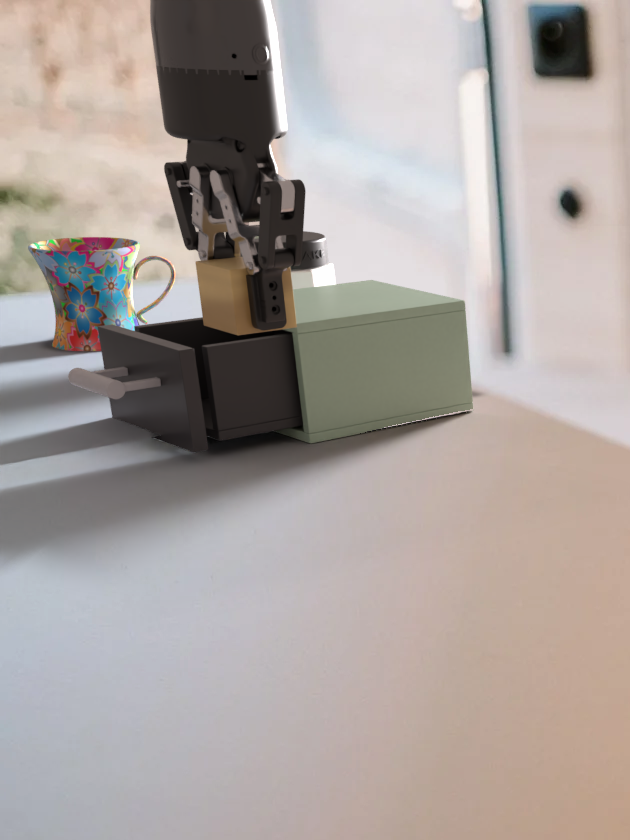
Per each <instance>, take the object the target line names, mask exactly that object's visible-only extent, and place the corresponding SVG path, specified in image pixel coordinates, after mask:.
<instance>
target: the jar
mask: <svg viewBox="0 0 630 840" xmlns="http://www.w3.org/2000/svg"><path fill="white" fill-rule="evenodd" d="M281 240H282V244H283V247H284V248H286V235H283V236H281ZM254 243H255V246H256V250H257V254H258V244H259V238H258V239H254ZM240 257H242V254H241V255H240ZM334 265H335V264H334V263H333V262H329V253H328V245H327V238H326V236H325V235H324V234H322V233H320V232H315V231H305V230H303V243H302V260H301V264H300V265H299V266H291V267H290V268H291V278H292V287H293V289H301V288H309V287H317V286H326V285H334V284H337V282H336V275H335V274H336V273H335V266H334Z"/></svg>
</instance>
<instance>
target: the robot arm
mask: <svg viewBox="0 0 630 840" xmlns="http://www.w3.org/2000/svg"><path fill="white" fill-rule="evenodd" d="M149 3H150V4H149V5H150V6H149V19H150V20H149V22H150V32H151V38H152V46H153V54H154V60H155V61H154V62H155V68H156V69H155V70H156V76H157V83H158V91H159V98H160V105H161V107H160V108H161V114H162V121H163V128H164V130H165V132H166V133H167V134H168V135H169V136H171V137H172V138H176V139H181V140H186V141H187V142H186V153H185V160H184V161H172V162H171V161H168V162H165V163H164V166H163V170H164V172H163V173H164V176H165V180H166V183H167V186H168V191H169V194H170V197H171V201H172V204H173V208H174V211H175V215H176V219H177V223H178V226H179V231H180V233H181V238H182V241H183V244H184V247H185V248H186V250H188V251H197V255H198V258H199V261H203V260H213V259H223V258H233V257H240V255H241V254H242V258H243V261H244V265H245V268H246V271H247V272H248V274H249V275H246V281H247V289H248V297H249V306H250V314H251V322H252V325H253V327H254V328H256V329H259V330H271V329H279V328H283V327H284V326H285V325H286V323H287V319H286V310H285V301H284V292H283V283H282V273H283V272H285V271H286V270H287V268H288V267H291V266H299V265H300V264H301V260H302V243H303V231H304V226H305V224H304V223H305V207H306V193H307V192H306V186H305V183H304V182H303V180H301V179H286V178H285V177H283V176H281V175H280V174H279V171H278V165H277V163H276V160H275V157H274V154H273V151H272V145H271V144H272V142H273V141H274V140H279V139H281V138H284V137H285V136H286V135H287V133H288V131H289V130H288V128H289V127H288V119H287V118H288V117H287V110H286V100H285V93H284V92H285V91H284V82H283V72H282V62H281V53H280V43H279V35H278V29H277V28H278V27H277V22H276V17H275V14H274V10H273V5H272V1H271V0H149ZM257 222H258V223H259V224H254V225H250V223H257ZM196 228H197V229H196ZM197 230H198V231H197ZM283 235H286V248H284V247H283V244H282V240H281V236H283ZM258 238H259V244H258V254H257V250H256V246H255V243H254V239H258Z"/></svg>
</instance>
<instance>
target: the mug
mask: <svg viewBox="0 0 630 840" xmlns="http://www.w3.org/2000/svg"><path fill="white" fill-rule="evenodd" d="M140 248H141V244H140V242H139V241H137V240H135V239H130V238H122V237H111V236H110V237H109V236H107V237H106V236H83V237H82V236H80V237H63V238H53V239H45V240H39V241H35V242H32V243H30V244H29V245H28V246H27V250H28V251H29V253H30V254H31V255H32V258H33V259H34V260H35V262H36V264H37V265H38V267H39V269H40V271H41V273H42V275H43V277H44V278H45V282H46V283H47V286H48V289H49V291H50V295H51V298H52V303H53V308H54V315H55V330H54V335H53V340H52V344H51V347H53V348H54V349H58V350H62V351H71V352H102V351H101V345H100V339H99V333H98V326H104V325H116V326H119V327H122V328H126V329H129V330H133V331H135V329H134V326H139V325H140V323H139V322H141V323H142V324H143V325H147V324H149V323H148V320H147V319H145V318H144V317H143V315H144V314H146V313H148V312H149V311H151V310H153V309H154V308H156V307H157V306H158V305H160V304H161V303H162V302H163V301H164V299H166V297H167V296H168V295H169V293H170V292H171V290H172V288H173V286H174V284H175V281H176V269H175V266H174V264H173V263H172V261H170V260H169V259H168V258H166V257H163V256H160V255H149V256H146V257H144V258H142V259H140V260H139V261H138V262H137V264H136V261H137V257H138V253H139V250H140ZM151 261H160V262H162V263H165V264H166V265H167V266H168V268H169V271H170V276H169V281H168V283H167V286H166V288H165V289H164V291H163V292H162V293H161V294H160V295H159V296H158V297H157V298H156V299H155V300H154V301H152V302H151V303H150V304H148V305H146V306H145V307H143V308H141V309H140V310H138V311H137V312H136V310H135V309H136V308H135V303H134V297H133V296H134V295H133V280H134V281H137V279H138V274H139V271H140V269H141V268H142V266H144V265H145V264H146V263H149V262H151ZM135 264H136V265H135Z"/></svg>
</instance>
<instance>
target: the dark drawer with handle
mask: <svg viewBox="0 0 630 840" xmlns="http://www.w3.org/2000/svg"><path fill="white" fill-rule="evenodd" d="M134 329H135V331H133V330H129V329H126V328H122V327H119V326H116V325H104V326H98V333H99V339H100V345H101V351H100V352H101V357H102V362H103V364H102V365H103V369H99V370H92V371H90V370H87V369H84V368H81V367H74V368H72V369H70V371H69V372H68V375H67V378H68V382H69V383H70V384H71V385H72V386H75V387H78V388H81V389H83V390H86V391H90V392H91V393H95V394H97V395H101V396H103V397H107V398H108V399H109V407H110V410H111V418H112V419H115V420H118V421H120V422H123V423H125V424H128V425H131V426H135V427H137V428H140V429H141V430H142V429H143V430H146V431H148V432H150V433H154V434H156V435H154V436H151V438H152V439H155V440H158V441H160V442H163V443H166V444H168V445H172V446H174V447H177V448H180V449H183V450H185V451H187V452H191V453H193V454H195V453H200V452H201V453H202V452H205V451H209V444H208V438H209V439H213V440H216V441H219V442H223V441H227V440H234V439H239V438H244V437H248V436H254V435H259V434H260V435H261V434H265V433H270V432H274V431H276V430H281V429H286V428H292V427H297V426H302V425H303V419H302V410H301V402H300V394H299V385H298V377H297V368H296V360H295V351H294V343H293V335H292V333H293V332H289V331H285V330H282V329H281V330H274V331H267V332H259V333H252V334H245V335H235V334H231V333H228V332H225V331H221V330H218V329H214V328H211V327H208V326H204V323H203V316H202V317H194V318H188V319H187V318H185V319H179V320H171V321H163V322H155V323H147V324H139V326H134Z"/></svg>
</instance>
